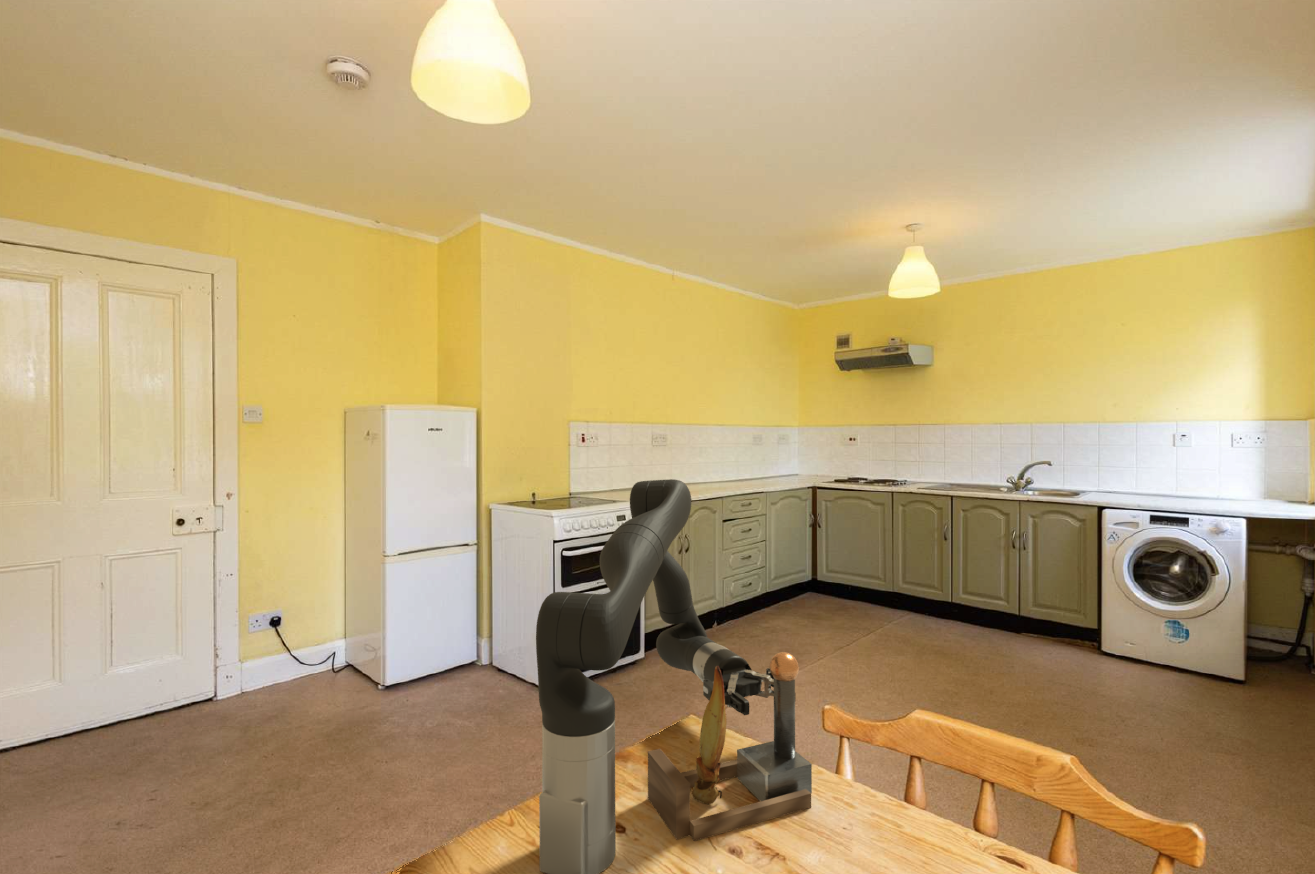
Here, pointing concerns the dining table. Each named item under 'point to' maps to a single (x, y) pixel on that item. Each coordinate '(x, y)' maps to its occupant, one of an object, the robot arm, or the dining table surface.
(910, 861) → the dining table surface
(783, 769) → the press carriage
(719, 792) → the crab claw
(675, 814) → the frame
